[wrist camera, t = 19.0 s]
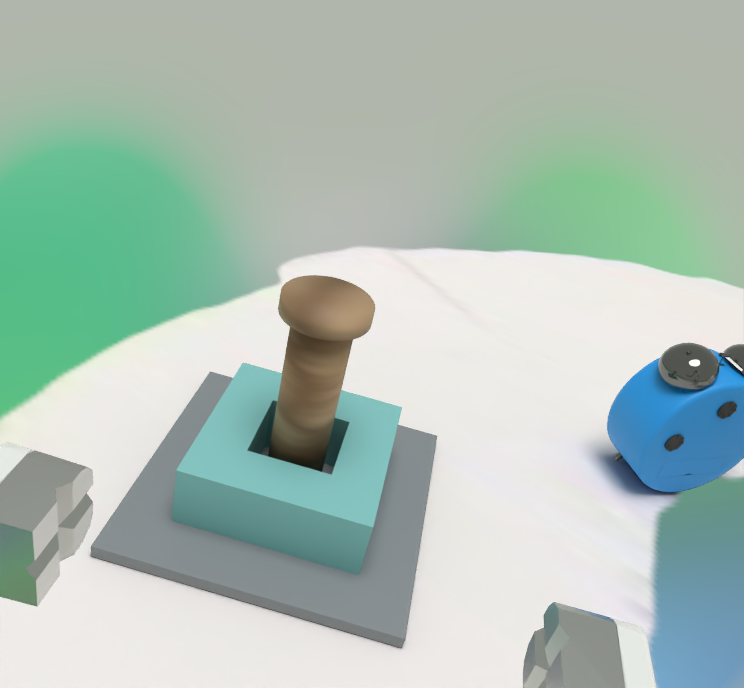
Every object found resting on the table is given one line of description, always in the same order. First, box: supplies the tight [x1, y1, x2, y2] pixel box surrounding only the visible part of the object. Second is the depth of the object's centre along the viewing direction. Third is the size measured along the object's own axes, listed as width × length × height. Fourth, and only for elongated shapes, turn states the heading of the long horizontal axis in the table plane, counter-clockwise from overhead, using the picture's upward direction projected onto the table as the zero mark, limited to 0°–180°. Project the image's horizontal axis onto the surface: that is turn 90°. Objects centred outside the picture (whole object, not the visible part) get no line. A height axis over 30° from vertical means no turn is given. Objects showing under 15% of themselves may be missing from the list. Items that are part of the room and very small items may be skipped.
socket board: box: [91, 363, 437, 648], centre depth 56 cm, size 22×22×6 cm
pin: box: [268, 275, 375, 472], centre depth 52 cm, size 6×6×17 cm
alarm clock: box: [607, 343, 744, 492], centre depth 66 cm, size 13×6×15 cm, turn 105°
